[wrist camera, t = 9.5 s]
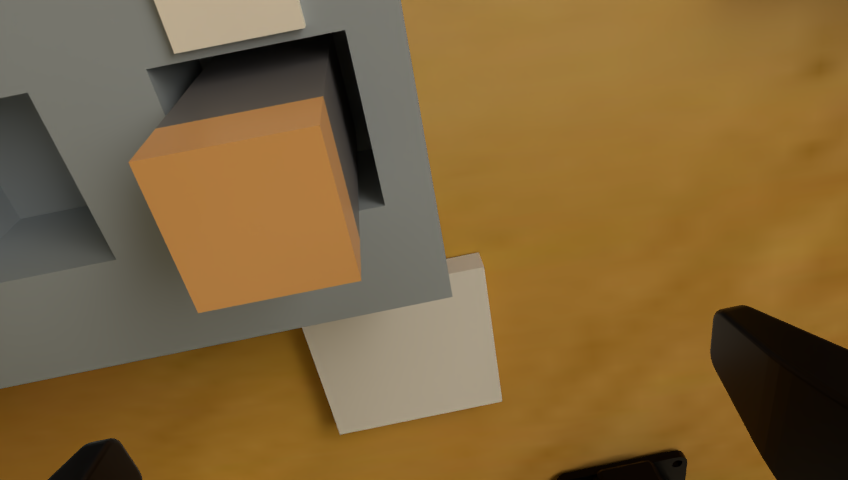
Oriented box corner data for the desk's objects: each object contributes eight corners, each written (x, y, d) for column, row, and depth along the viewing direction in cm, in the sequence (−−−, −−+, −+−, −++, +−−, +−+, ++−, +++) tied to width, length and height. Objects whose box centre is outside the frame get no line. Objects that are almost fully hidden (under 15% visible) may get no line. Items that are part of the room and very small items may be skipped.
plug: (356, 134, 18) (361, 280, 11) (254, 154, 18) (198, 313, 11) (331, 28, 17) (319, 125, 10) (218, 49, 16) (128, 162, 10)
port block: (431, 214, 21) (454, 303, 17) (46, 292, 21) (-38, 403, 16) (365, -148, 15) (372, -164, 11) (-166, -45, 15) (-384, -17, 11)
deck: (497, 384, 26) (502, 401, 25) (340, 416, 26) (340, 434, 25) (478, 252, 22) (483, 267, 21) (296, 289, 22) (294, 305, 21)
